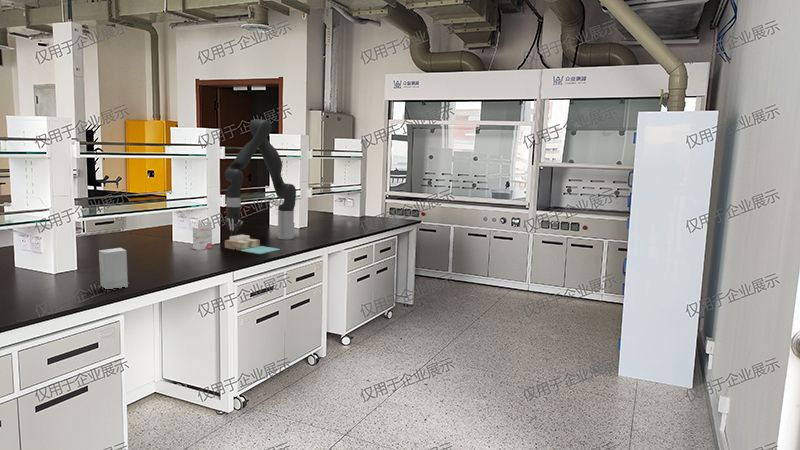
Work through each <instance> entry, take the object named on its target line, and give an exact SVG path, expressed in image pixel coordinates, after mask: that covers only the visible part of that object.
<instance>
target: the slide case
mask: <svg viewBox="0 0 800 450" xmlns="http://www.w3.org/2000/svg"><path fill="white" fill-rule="evenodd" d="M250 238H251V236H250V235H248V234H247V235H246V234H236V236H231V235H230V236H229V240H232V241H243V240H249V239H250Z"/></svg>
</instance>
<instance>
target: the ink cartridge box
mask: <svg viewBox="0 0 800 450" xmlns="http://www.w3.org/2000/svg"><path fill="white" fill-rule="evenodd" d="M212 229H213V227H212V221H210V220H208V221H198V222H197V226H192V250H193V249H194V250H197V251H202V250H209V249H212V248H213V232H212V231H213V230H212Z"/></svg>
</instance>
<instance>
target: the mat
mask: <svg viewBox="0 0 800 450" xmlns="http://www.w3.org/2000/svg"><path fill="white" fill-rule="evenodd" d="M240 251H241V252H245V253H249V254H256V255H263V254H268V253H273V252H276V251H281V248H276V247H270V246H264V245H260V246H259V247H254V248H249V249H244V250H240Z"/></svg>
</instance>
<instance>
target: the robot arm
mask: <svg viewBox="0 0 800 450" xmlns="http://www.w3.org/2000/svg"><path fill="white" fill-rule="evenodd" d="M249 131H250V133H251V136H252V138H251V139H250V141H248V143H246V144H245V145H244V146H243V147H242V148H240V150H239V152H238V154H237V155H236V157H235V159H234V161H233V162H232V163H230V164H229V166H228V167H226V170H225V171H224V178H225V180H226V181H228V182H231V183H230V186H228V187H227V188H226V205H225V206H226V209H225V212H226V218H224V219H223V222H224V224H225V226H226V227H227V229H228V230H230V236H236V235H237V231H238V230H240V229H241V227H242V226H243V225H244V221H243V220H241V216H240V215H241V212H242V211H241V209H242V202H241V188H242V186H243V182H244V174H243V172H242V170H244V169H245V168H246V167H247V166H248V164H249V163H250V161H251V160H252V158H253V156H254V154H255V153H256V152H257V151H258V149H259V151H260V154H261V156H262V159H263V162H264V165H265V166H266V169H267V170H268V173H269V176H270V179H271V181H272V184H273V188H274V193H275V194H276V196H277V198H279V199H283V203H282V204H279V205H278V206H277V208H278V209H277V213H278V214H277V239H279V240H292V239H294V238H295V222H294V219H295V218H294V217H295V216H294V215H295V213H294V212H295V207H296V202H297V201H296V200H297V197H296V196H297V189H296V186H295V185H294V184H292V183H286V182H284V180H283V177H282V170H283V161H282V158H281V156H280V154H279V152H278V151H277V149H276V148H275V147H274V146H273V145H272V144H271V143H270V141H269V140H268V138H267V137H268V136H269V135H270V133H271V131H272V124H271V122H270V121H269V120H266V119H258V118H257V119H256V118H255V119H252V120H251V121H250V122H249Z"/></svg>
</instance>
